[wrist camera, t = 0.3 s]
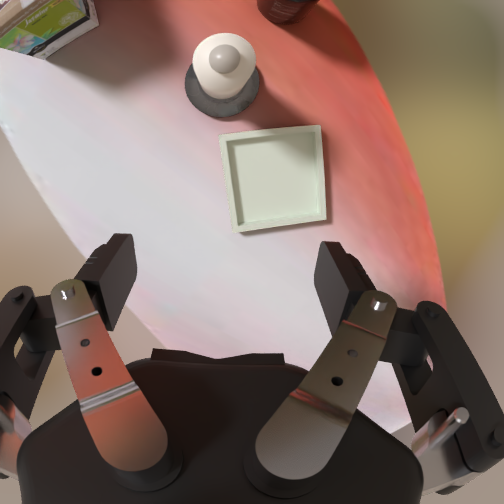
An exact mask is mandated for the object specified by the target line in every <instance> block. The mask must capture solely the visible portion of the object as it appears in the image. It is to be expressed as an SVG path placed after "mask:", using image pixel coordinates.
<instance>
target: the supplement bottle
mask: <svg viewBox="0 0 504 504" xmlns="http://www.w3.org/2000/svg"><path fill="white" fill-rule="evenodd" d="M318 2H319V0H257V6H258V9H259V11H260V12H261V13H262V15H263V16H265V17H266V18H267V19H269V20H270V21H273V22H275V23H279V24H293V23H296V22H299V21H300V20H302V19H303V18H304V17H305V16H306V15H307V14H308V13H309V12H310V11H311V9H312V8H313V7H314V6H315V5H316V4H317V3H318Z"/></svg>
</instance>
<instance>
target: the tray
mask: <svg viewBox="0 0 504 504" xmlns="http://www.w3.org/2000/svg"><path fill="white" fill-rule="evenodd" d="M218 136H219V143H220V150H221V157H222V164H223V171H224V178H225V185H226V192H227V198H228V205H229V212H230V218H231V225H232V231H233V233H237V232H244V231H250V230H257V229H264V228H271V227H277V226H284V225H291V224H298V223H305V222H312V221H319V220H326V199H325V179H324V163H323V149H322V137H321V125H307V126H292V127H281V128H270V129H260V130H252V131H243V132H236V133H229V134H222V135H218Z"/></svg>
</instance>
